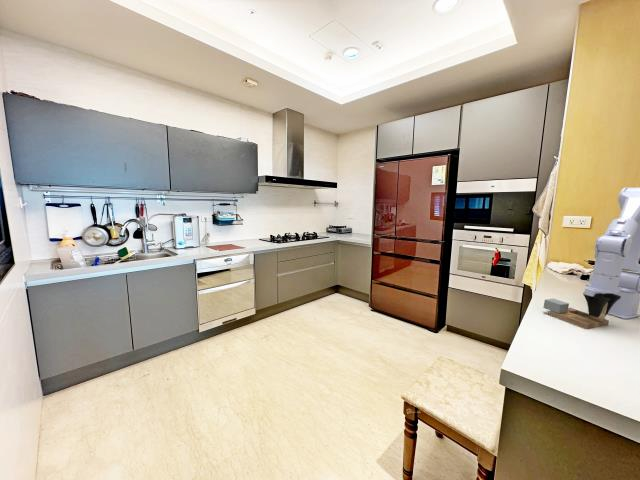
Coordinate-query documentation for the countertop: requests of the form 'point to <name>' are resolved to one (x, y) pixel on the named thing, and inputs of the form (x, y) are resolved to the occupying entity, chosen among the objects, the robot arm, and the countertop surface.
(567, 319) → the board
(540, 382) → the countertop surface
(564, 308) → the grey block
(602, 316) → the peg
